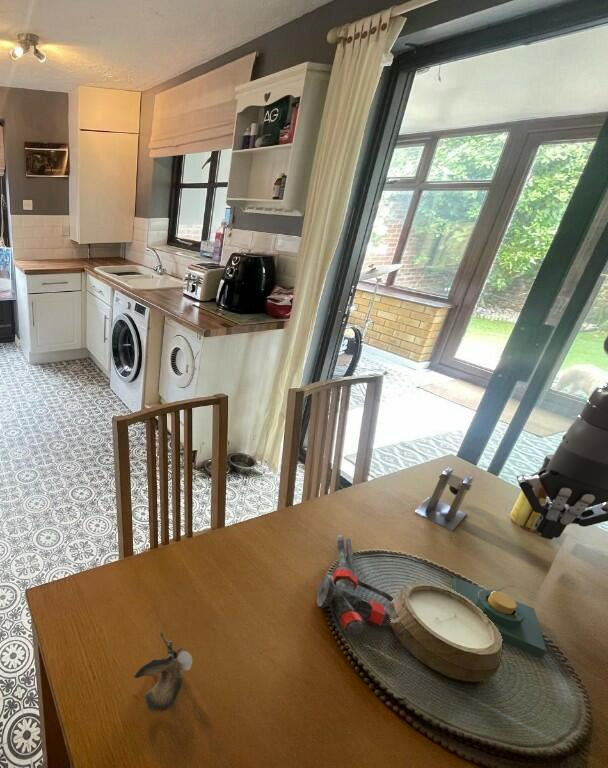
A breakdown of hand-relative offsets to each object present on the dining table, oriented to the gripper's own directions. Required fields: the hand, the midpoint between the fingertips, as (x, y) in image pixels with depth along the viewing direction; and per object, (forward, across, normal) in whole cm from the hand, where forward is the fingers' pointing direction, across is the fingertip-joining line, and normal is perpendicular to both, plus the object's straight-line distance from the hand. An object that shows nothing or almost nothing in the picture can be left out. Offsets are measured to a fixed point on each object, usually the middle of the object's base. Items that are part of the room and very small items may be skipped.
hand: (544, 535), depth 70 cm
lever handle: (+15, -6, +32) cm, 36 cm away
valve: (+22, -22, -8) cm, 32 cm away
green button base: (+21, 0, 0) cm, 21 cm away
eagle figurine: (+22, -47, -47) cm, 70 cm away
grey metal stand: (+21, -7, +29) cm, 37 cm away
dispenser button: (+18, 0, 0) cm, 18 cm away
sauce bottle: (+22, +10, +37) cm, 44 cm away
